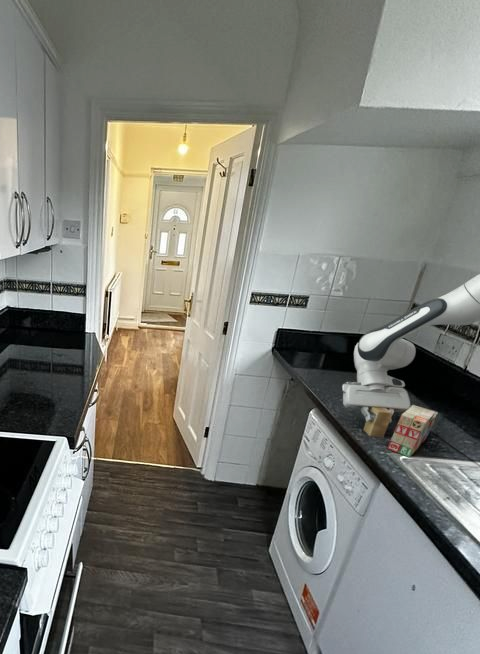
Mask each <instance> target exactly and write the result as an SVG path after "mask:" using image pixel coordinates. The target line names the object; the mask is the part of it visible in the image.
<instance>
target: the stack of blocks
mask: <svg viewBox="0 0 480 654" xmlns="http://www.w3.org/2000/svg"><path fill="white" fill-rule="evenodd" d="M438 414H439V412H438V411H434V410H432V409H428V408H426V407H425V408H424V407H422V406H417V405H415V404H412V405H410V408H409V409H408V410H407V411H405V412H402V413H401V415H400V417H399V420H398V422H397V424H396V426H395V429H394V430H393V434H392V436H391V438H390V441H389V443H388V445H387V447H386V449H387V450H389V451H392V452H394V453H397V454H400V455H402V456H405V457H408V458H411V457H412V455H413V454H414V453H415V452H416V451H417V450H418V449H419V447H420V446H421V445H422V444H423V443H424V442H425V440H426V439H427V438H428V437H429V434H430V432H431V430H432V428H433V426H434V424H435V422H436V421H435V420H436V418H437V417H438Z"/></svg>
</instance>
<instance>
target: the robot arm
mask: <svg viewBox="0 0 480 654" xmlns="http://www.w3.org/2000/svg"><path fill="white" fill-rule="evenodd" d="M479 321H480V273H479V274H477V275H475V276H473V277H472V278H470V279H469V280H468V281H466V282H464V283H463V284H462V285H460V286H458V287H457V288H455V289H453V290H451V291H450V292H447V293H446V294H444V295H441V296H439V297H436V298H432V299H429V300H427V301H426V302H423V303H421V304H419V305H418V306H416V307H413V308H411V309H410V310H409V311H407V312H405V313H403V314H401V315H400V316H398V317H396V318H394V319H393V320H391V321H390V322H387V323H386V324H384V325H382V326H380V327H377V328H373V329H370V330H369V331H367V332H365V333H364V334H363V335H362V336H361V337H360V339H359V340H358V342H357V343H356V345H354V350H353V363H354V368H355V370H356V381H353V382H352V381H346V382H343V384H342V386H341V388H342V392H343V394H342V405H343V406H344V408H346V409H355V410H356V409H357V410H360V413H361V415H363V416H364V418H365V422H366V421H369V422H371V421H373V415H370V414H369V412H370V409H371V407H380V408H386V409H388V410H389V411H390V412H392V416H391V419H390V421H389V424H390V423H392V421H393V420H392V417H393V415H394V413H404V412H406V411H407V410H408V409H409V408H410V407H411V400H410V396H409V394H408V391H407V390H406V389H405V386H406V384H405V381H404V380H401V379H398V378H396V377H394V376H390V375H388V371H393V370H398V369H402V368H405V367H407V366H408V365H409V366H410V364H411V363H412V362H413V361H414V360H415V358H416V355H417V348H416V346H415V344H414V343H413V342H412V341H409V340H406V339H404V338H405V337H408V336H410V335H411V334H413V333H415V332H417V331H418V330H421V329H423V328H426V327H430V326H438V325H440V326H441V325H444V326H445V325H448V326H469V325H472V324H475V323H478V322H479Z"/></svg>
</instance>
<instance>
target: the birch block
mask: <svg viewBox="0 0 480 654" xmlns="http://www.w3.org/2000/svg"><path fill="white" fill-rule="evenodd" d="M368 412H369V414H370V415H373V421H371V422H369V421H366V420H365V423H364V427H363V429H362V430H363V431H364V432H365V433H366V434H367V435H368V436H369V437H374V438H384V437H385V434H386V432H387V429H388V426H389V424H390V423H389V421H390V419H392V417H393V415H392V412H390V411H389V410H388V409H386V408H380V407H371V409H370V410H369V411H368ZM391 416H392V417H391Z"/></svg>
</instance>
